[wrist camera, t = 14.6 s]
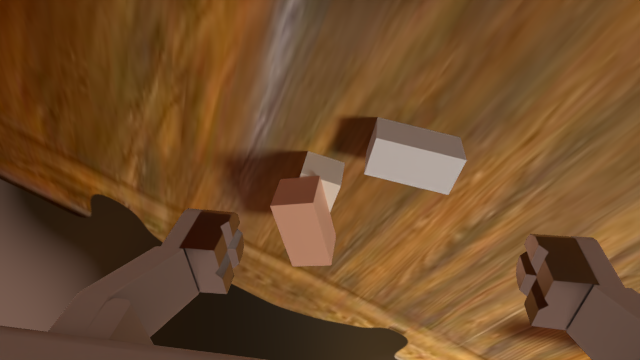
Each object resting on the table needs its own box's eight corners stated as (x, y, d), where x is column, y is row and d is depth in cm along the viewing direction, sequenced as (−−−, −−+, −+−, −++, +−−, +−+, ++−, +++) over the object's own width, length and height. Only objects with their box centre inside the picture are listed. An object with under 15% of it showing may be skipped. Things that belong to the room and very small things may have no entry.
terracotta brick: (320, 175, 46) (313, 202, 42) (335, 236, 51) (331, 265, 47) (280, 179, 47) (270, 205, 43) (300, 238, 52) (292, 266, 49)
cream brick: (344, 162, 50) (340, 185, 46) (323, 215, 56) (318, 240, 52) (308, 150, 50) (300, 173, 46) (290, 204, 56) (283, 229, 52)
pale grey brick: (377, 116, 45) (376, 137, 41) (460, 136, 45) (466, 160, 41) (366, 150, 48) (364, 174, 45) (443, 170, 48) (448, 194, 45)
